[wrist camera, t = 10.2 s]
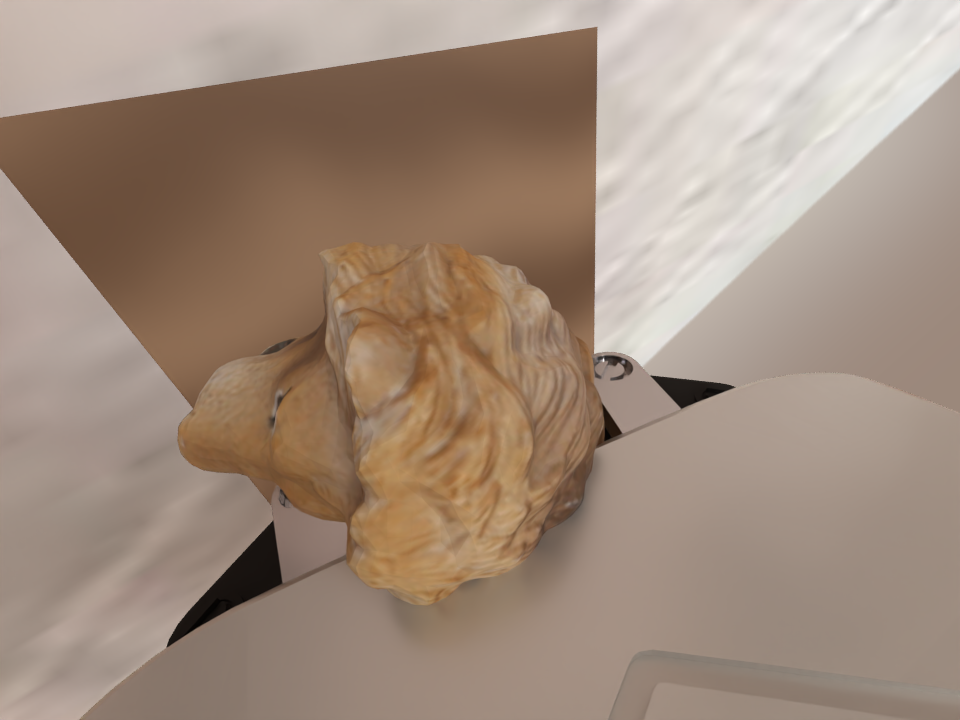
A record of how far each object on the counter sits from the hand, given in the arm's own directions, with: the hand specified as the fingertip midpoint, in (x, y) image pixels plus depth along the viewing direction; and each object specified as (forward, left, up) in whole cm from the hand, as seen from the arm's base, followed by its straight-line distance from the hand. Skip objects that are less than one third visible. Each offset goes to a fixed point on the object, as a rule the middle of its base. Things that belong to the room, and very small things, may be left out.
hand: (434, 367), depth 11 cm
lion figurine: (+1, 0, -1) cm, 2 cm away
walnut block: (0, 0, -8) cm, 8 cm away
